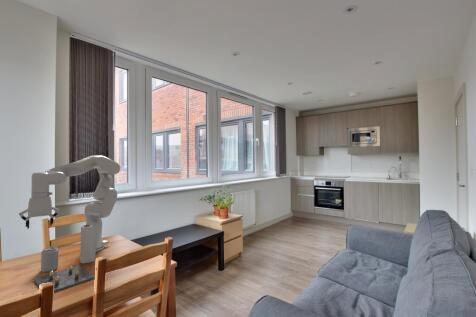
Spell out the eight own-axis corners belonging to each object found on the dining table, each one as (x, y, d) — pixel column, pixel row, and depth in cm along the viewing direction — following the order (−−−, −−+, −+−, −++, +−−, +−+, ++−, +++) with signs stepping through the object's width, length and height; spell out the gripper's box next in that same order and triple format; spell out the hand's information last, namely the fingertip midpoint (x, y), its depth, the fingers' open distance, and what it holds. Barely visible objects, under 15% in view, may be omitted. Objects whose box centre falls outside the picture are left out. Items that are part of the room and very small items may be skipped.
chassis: (78, 267, 139) (78, 259, 139) (93, 278, 126) (94, 270, 126) (33, 281, 123) (33, 272, 123) (46, 295, 111) (46, 285, 111)
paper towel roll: (77, 262, 145) (78, 226, 145) (87, 258, 151) (88, 223, 151) (85, 264, 142) (86, 227, 142) (95, 261, 148) (96, 225, 148)
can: (61, 268, 138) (61, 246, 138) (47, 273, 131) (47, 251, 131) (51, 265, 140) (52, 244, 140) (37, 271, 133) (38, 249, 133)
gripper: (59, 193, 143) (59, 222, 143) (19, 195, 132) (19, 227, 132) (60, 194, 137) (59, 225, 137) (18, 197, 126) (18, 231, 126)
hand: (39, 226), depth 134 cm, fingers open, 9 cm apart
